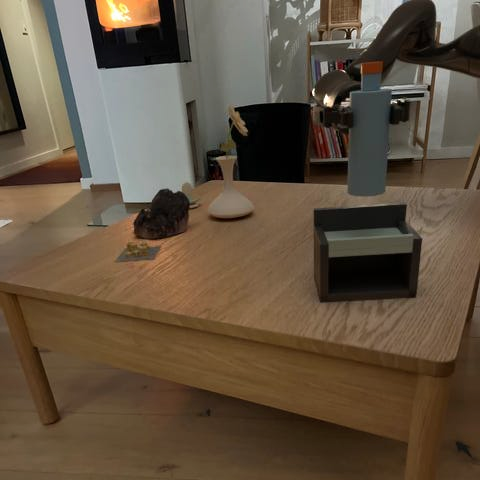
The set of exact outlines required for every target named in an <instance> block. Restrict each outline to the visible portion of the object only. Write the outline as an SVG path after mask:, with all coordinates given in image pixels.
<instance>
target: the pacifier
mask: <svg viewBox="0 0 480 480" xmlns="http://www.w3.org/2000/svg"><path fill="white" fill-rule="evenodd" d="M181 192H183V193H184V194H185V195H186V196H187V198H188V199H189V202H190V207H189V209H194V208H197V207H198V206H199V204H198V203H197V202H199V201H200V200H201V199H202V196H200V197H197V198H195V199H193V195H192V193H193V185H192V183H190V182H188V181H187V182H184V183H182V186H181Z"/></svg>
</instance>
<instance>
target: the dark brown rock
mask: <svg viewBox="0 0 480 480" xmlns="http://www.w3.org/2000/svg"><path fill="white" fill-rule="evenodd" d="M189 207H190V202H189V199H188V198H187V196H186V195H185V194H184V193H183V192H182V190H177V191H176V192H173V190H171V189H169V188H161V189H159V190H158V191H157V193H156V194H155V195H154V197H153V198H152V199H151V202H150V204H149V205H148V206H147V208H146V209H145V208H141V209H140V211H138V213H137V215H136V218H135V219H134V220H133V224H132V225H133V235H135V236H139V237H140V238H143V239H147V240H154V239H155V240H156V239H162V238H166V237H171V236H175V235H177V234H181V233H184V232H185V231H186V230H187V227H188V222H189V218H190V213H189V212H190V211H189V210H190V208H189Z"/></svg>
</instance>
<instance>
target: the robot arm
mask: <svg viewBox="0 0 480 480" xmlns="http://www.w3.org/2000/svg"><path fill="white" fill-rule="evenodd" d="M436 36H437V7H436V4H435V2H434V1H433V0H407V1H405V2H403V3H402V4H399V5H398V6H397V7H396V8H395V9H394V10H393V11H392V12H391V14H390V15H389V16H388V18H387V19H386V21H385V22H384V24H383V25H382V27H381V28H380V30H379V31H378V33H377V34H376V35H375V37H374V39H373V40H371V43H370V44H369V45H368V47H366V48H365V50H364V51H363V52H361V54H359V55H358V56H357V57H356V58H355V59H354V60H353V61H352V62H351V63H350V64H349V65H347V67H346V68H345V69H344V70H342V69H333V70H330V71H327V72H326V73H324V74H322V76H321V77H319V78H318V79H317V80H316V82H315V84H314V86H313V87H312V98H313V100H314V102H315V105H313V106H312V111H313V112H312V124H313V125H315V126H318V127H322V128H326V129H330V128H331V130H333V131H337V132H340V133H341V134H343V135H345V136H347V137H349V128H353V110H352V109H350V92H352V91H359V90H361V82H362V74H361V64H362V63H370V62H383V67H382V72H381V85H382V84H383V83H384V82H385V81H386V80H387V78H388V77H389V75H390V74H391V72H392V70H393V68H394V66H395V64H396V61H398V62H401V63H405V64H409V65H417V66H424V67H429V68H436V69H443V70H446V71H450V72H455V73H459V74H461V75H464V76H468V77H471V78H474V79H478V80H480V24H478V25H476V26H474V27H472V28H470V29H469V30H467V31H465V32H464V33H463V34H460V35H459V36H458V37H457V38H454V39H453V40H451V41H449V42H447V43H445V42H444V43H442V42H439V41H438V40H437V39H436V38H437V37H436ZM410 108H411V100H410V98H408V97H402V98H400V99H396V101H391V111H390V125H392V126H399V125H400V122H402V123H407V122H409V121H410Z"/></svg>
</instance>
